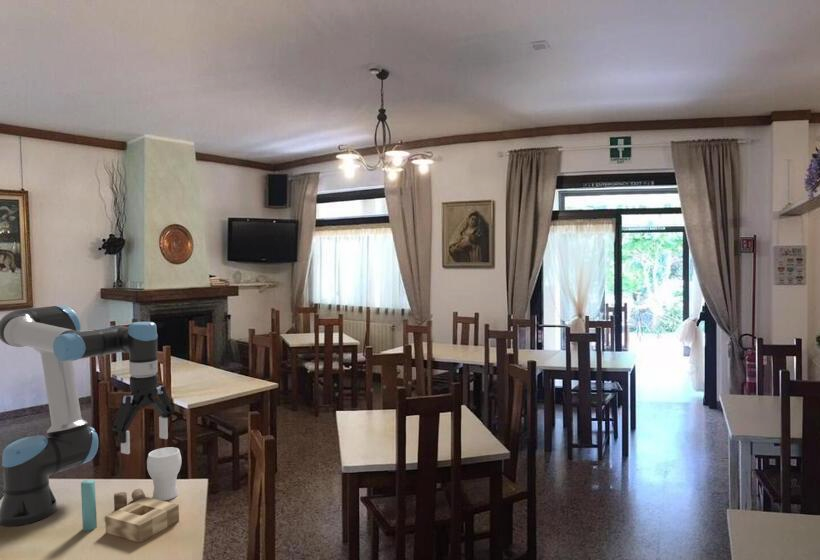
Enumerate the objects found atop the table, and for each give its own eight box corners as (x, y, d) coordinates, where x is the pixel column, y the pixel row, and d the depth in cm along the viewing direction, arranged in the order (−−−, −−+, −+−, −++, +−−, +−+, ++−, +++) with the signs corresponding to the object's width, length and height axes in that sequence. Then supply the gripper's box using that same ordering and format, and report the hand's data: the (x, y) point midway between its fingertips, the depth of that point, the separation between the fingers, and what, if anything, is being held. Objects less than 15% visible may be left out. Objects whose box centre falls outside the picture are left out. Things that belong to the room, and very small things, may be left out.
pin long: (80, 529, 165) (78, 483, 165) (91, 524, 169) (89, 478, 168) (88, 532, 164) (86, 485, 163) (99, 526, 167) (97, 480, 166)
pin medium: (137, 510, 178) (133, 501, 185) (148, 505, 180) (144, 496, 187) (133, 500, 178) (130, 492, 184) (145, 495, 180) (141, 486, 186)
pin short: (111, 511, 177) (111, 495, 177) (121, 506, 180) (121, 491, 180) (119, 513, 176) (119, 497, 175) (129, 508, 179) (129, 493, 179)
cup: (169, 504, 181) (168, 459, 181) (140, 501, 184) (139, 456, 183) (188, 490, 192) (187, 447, 191) (161, 488, 194) (160, 445, 193)
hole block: (105, 532, 163) (105, 516, 163) (146, 512, 176) (145, 496, 176) (139, 542, 158) (139, 525, 157) (179, 520, 170) (178, 504, 170)
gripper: (115, 385, 151) (117, 462, 153) (185, 367, 174) (186, 434, 176) (96, 382, 154) (98, 457, 156) (167, 365, 177) (169, 430, 179)
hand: (145, 445), depth 166 cm, fingers open, 13 cm apart
